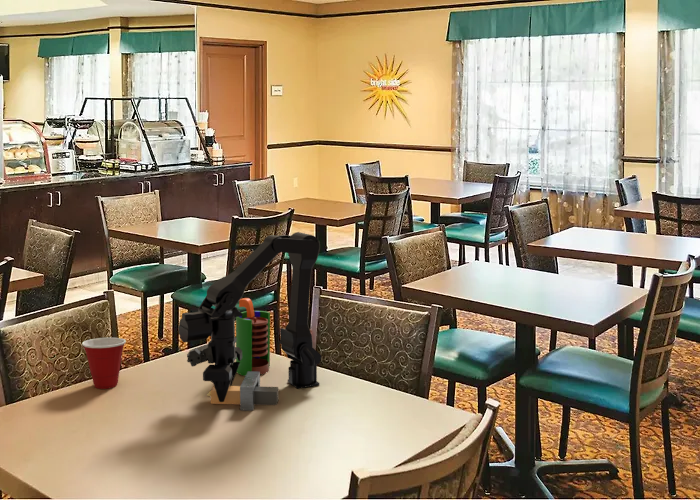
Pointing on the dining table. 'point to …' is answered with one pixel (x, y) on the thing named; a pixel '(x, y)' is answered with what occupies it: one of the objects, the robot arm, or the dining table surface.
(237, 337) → the green tall cylinder
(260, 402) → the plug
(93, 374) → the plastic cup
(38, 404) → the dining table surface
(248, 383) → the housing
